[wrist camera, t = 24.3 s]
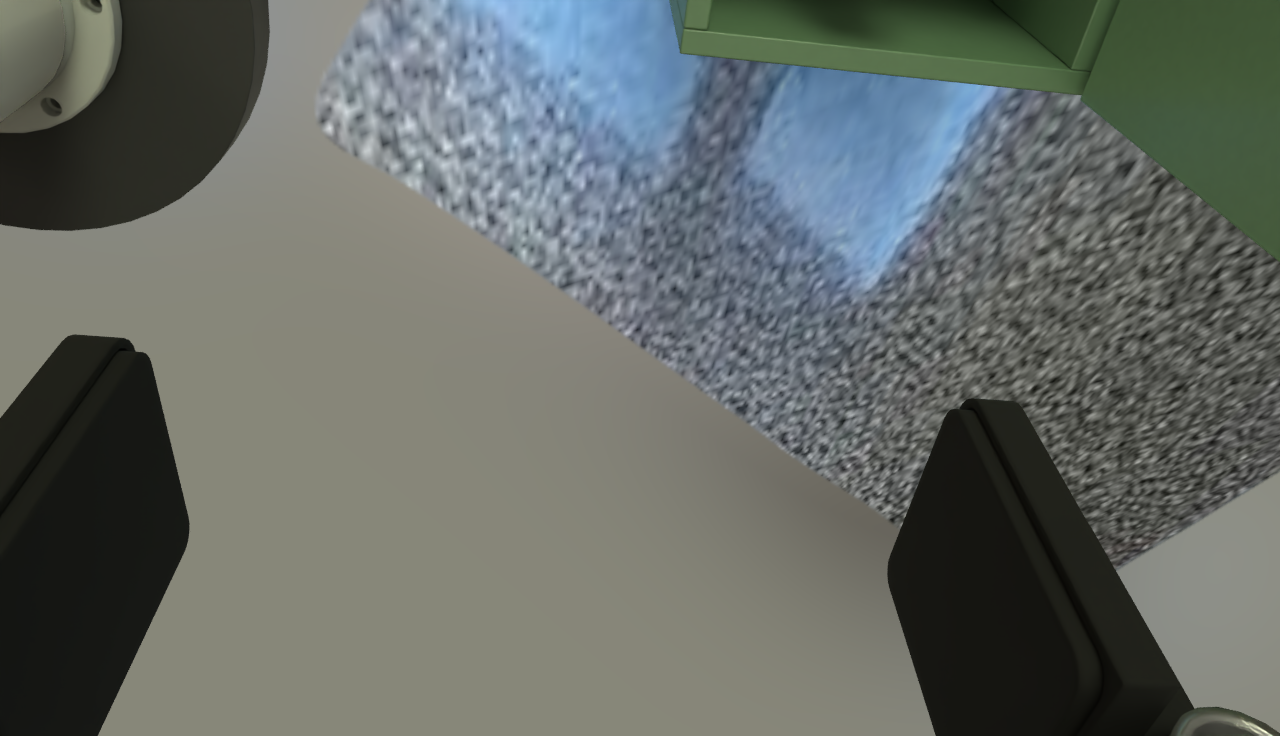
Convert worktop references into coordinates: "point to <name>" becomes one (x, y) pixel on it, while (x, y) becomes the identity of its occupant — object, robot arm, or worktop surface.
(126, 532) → the robot arm
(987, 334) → the worktop surface
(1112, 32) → the bin lid
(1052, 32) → the waste bin
